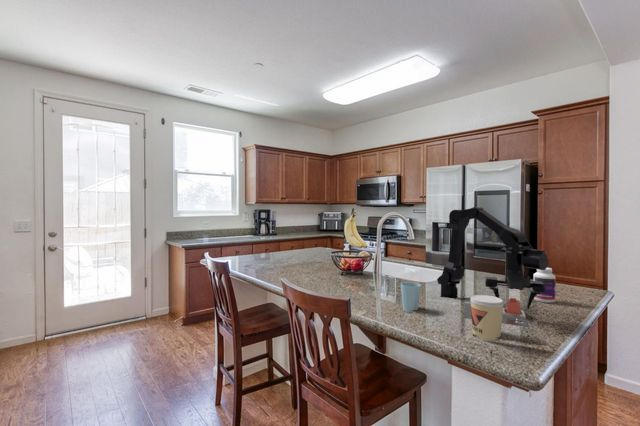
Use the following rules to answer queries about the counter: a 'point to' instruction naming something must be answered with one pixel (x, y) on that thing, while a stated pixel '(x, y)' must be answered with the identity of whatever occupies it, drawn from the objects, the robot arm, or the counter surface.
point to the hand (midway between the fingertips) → (513, 307)
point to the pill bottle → (546, 285)
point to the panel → (506, 317)
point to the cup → (410, 296)
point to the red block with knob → (513, 306)
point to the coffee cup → (486, 317)
